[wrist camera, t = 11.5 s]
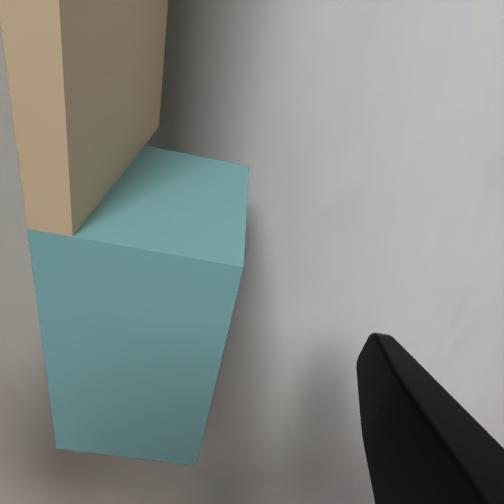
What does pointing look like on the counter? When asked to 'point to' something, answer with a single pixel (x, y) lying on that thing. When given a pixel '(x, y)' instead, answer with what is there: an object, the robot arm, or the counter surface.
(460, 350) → the counter surface
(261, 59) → the counter surface
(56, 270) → the carton flap
